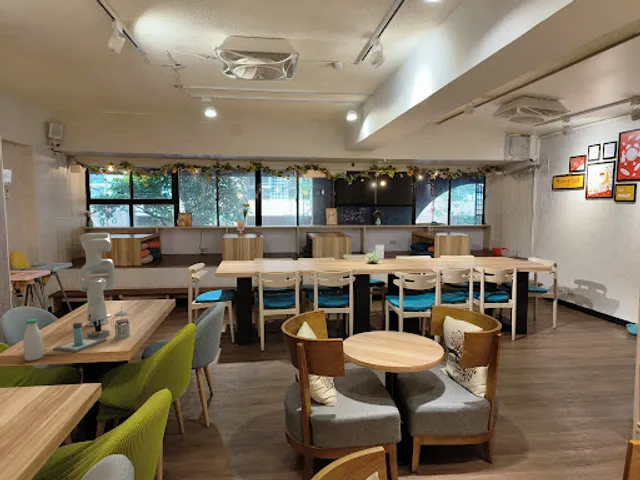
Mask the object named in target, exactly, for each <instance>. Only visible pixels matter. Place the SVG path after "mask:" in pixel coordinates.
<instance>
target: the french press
mask: <svg viewBox="0 0 640 480" xmlns="http://www.w3.org/2000/svg"><path fill="white" fill-rule="evenodd" d="M118 298H120V299H122V298H123V295H121V294H119V296H118ZM122 308H123V307H120V310H121V311H118V312H116V313H114V314H113V318H111V319H110V325H111V327H113V329H114V334H115V336H114V337H113V339H114V340H118V341H119V340H120V341H121V340H125V339H129V338H131V337H132V336H133V335H132V334H131V332H130V331H131V330H130V329H131V328H130V322H129V321H130V320H129V319H127V318H126V319H124V318H121V319H117V318H118V317H126V316H128V315H130V313H129V312H128V311H126V310H125V311H123V310H122ZM114 319H115V323H114ZM116 319H117V320H116ZM112 323H113V324H112Z"/></svg>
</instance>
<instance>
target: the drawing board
mask: <svg viewBox="0 0 640 480" xmlns="http://www.w3.org/2000/svg"><path fill="white" fill-rule="evenodd" d="M82 338H83V345H81V346H74V340H71V341H69V342H65V343H63V344H61V345H57V346H56V347H55V346H54V347H53V348H52V350H53V351H60V352H68V353H79V352H81V351H83V350H86V349H89V348H92V347H94V346H97V345H99V344H102V343H104V342H106V341H107V338H93V337H87V336H82Z"/></svg>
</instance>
